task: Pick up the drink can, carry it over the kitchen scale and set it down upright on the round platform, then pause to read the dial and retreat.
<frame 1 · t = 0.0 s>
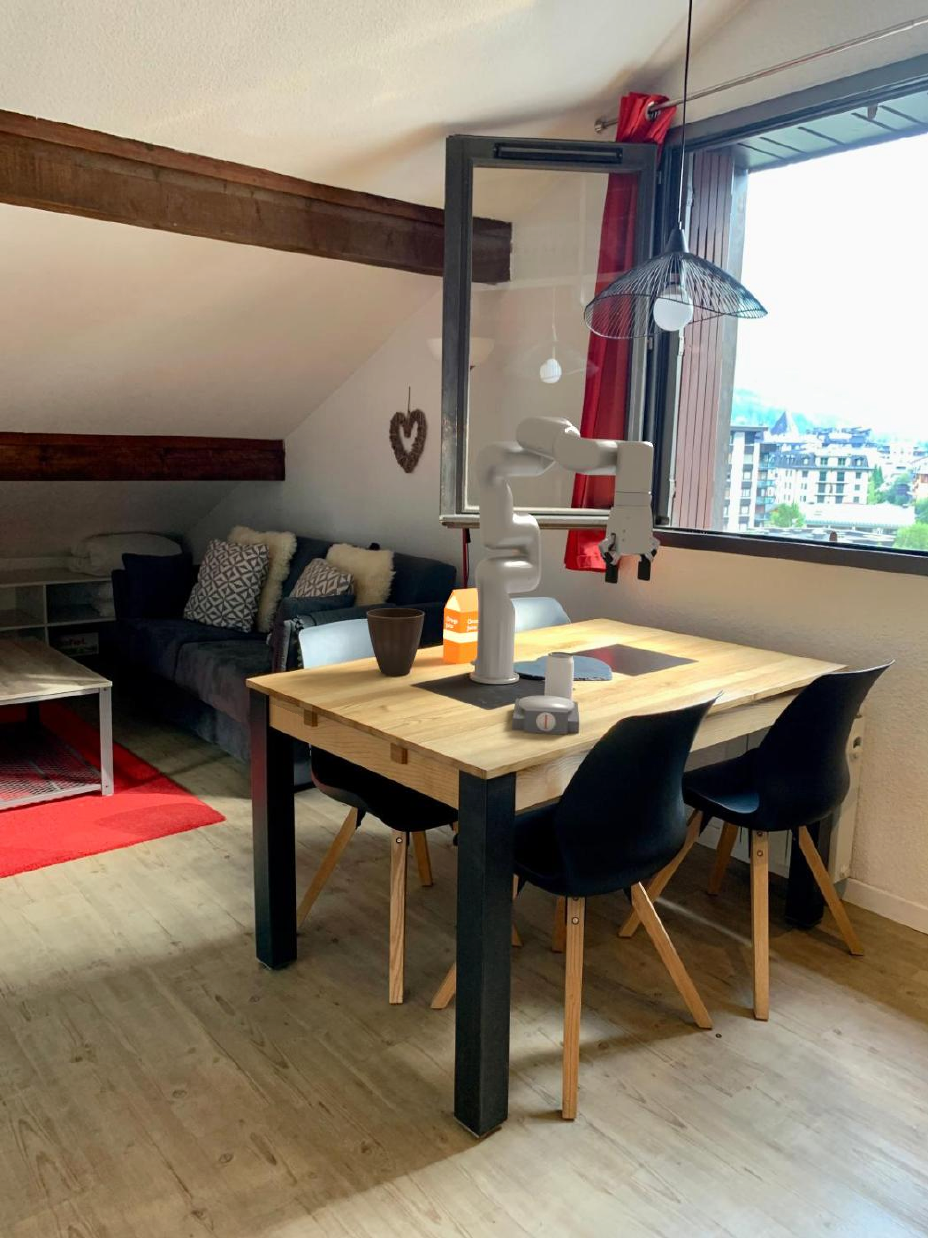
hand: (627, 581, 203), 31 cm above the table, tool pointing down, fingers open, 9 cm apart
orange juice: (463, 660, 265), on the table
can: (557, 705, 221), on the table
plant pot: (394, 673, 247), on the table
scale: (545, 720, 208), on the table
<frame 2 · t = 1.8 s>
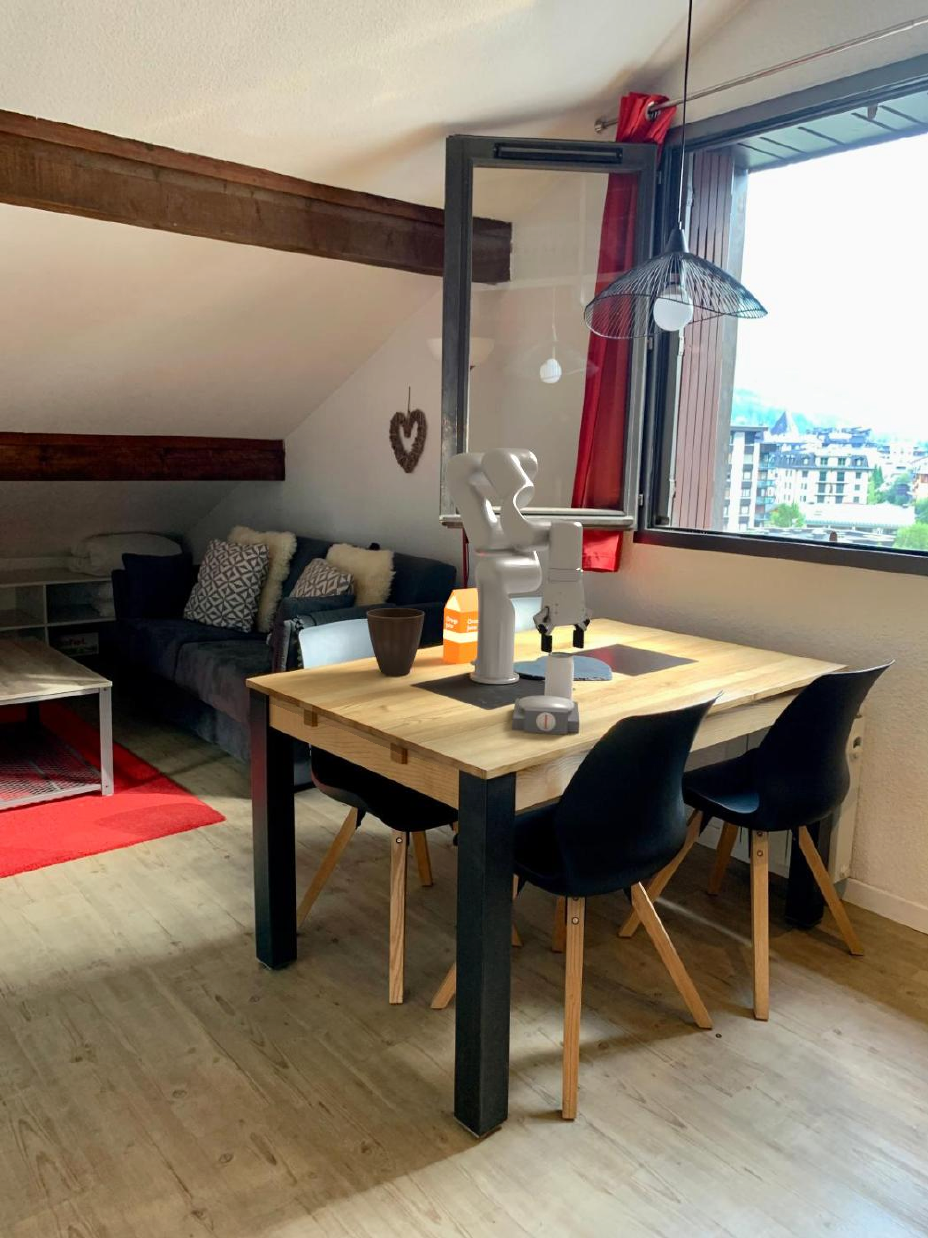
hand: (562, 649, 218), 13 cm above the table, tool pointing down, fingers open, 9 cm apart
nothing on the table moved.
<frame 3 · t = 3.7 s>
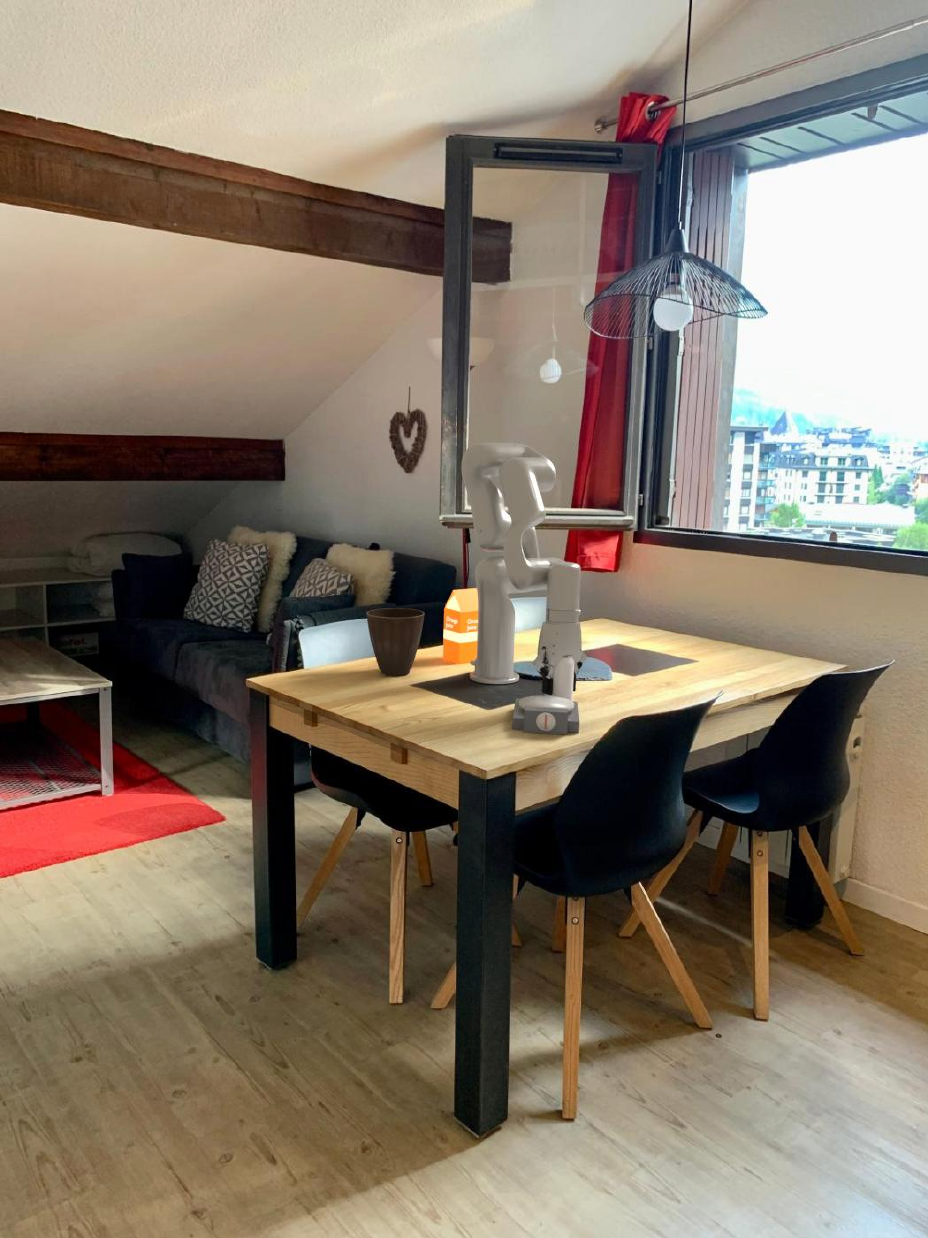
hand: (558, 691, 221), 3 cm above the table, tool pointing down, fingers closed on can, 6 cm apart
can: (558, 705, 221), on the table, touching gripper
everything else where it was.
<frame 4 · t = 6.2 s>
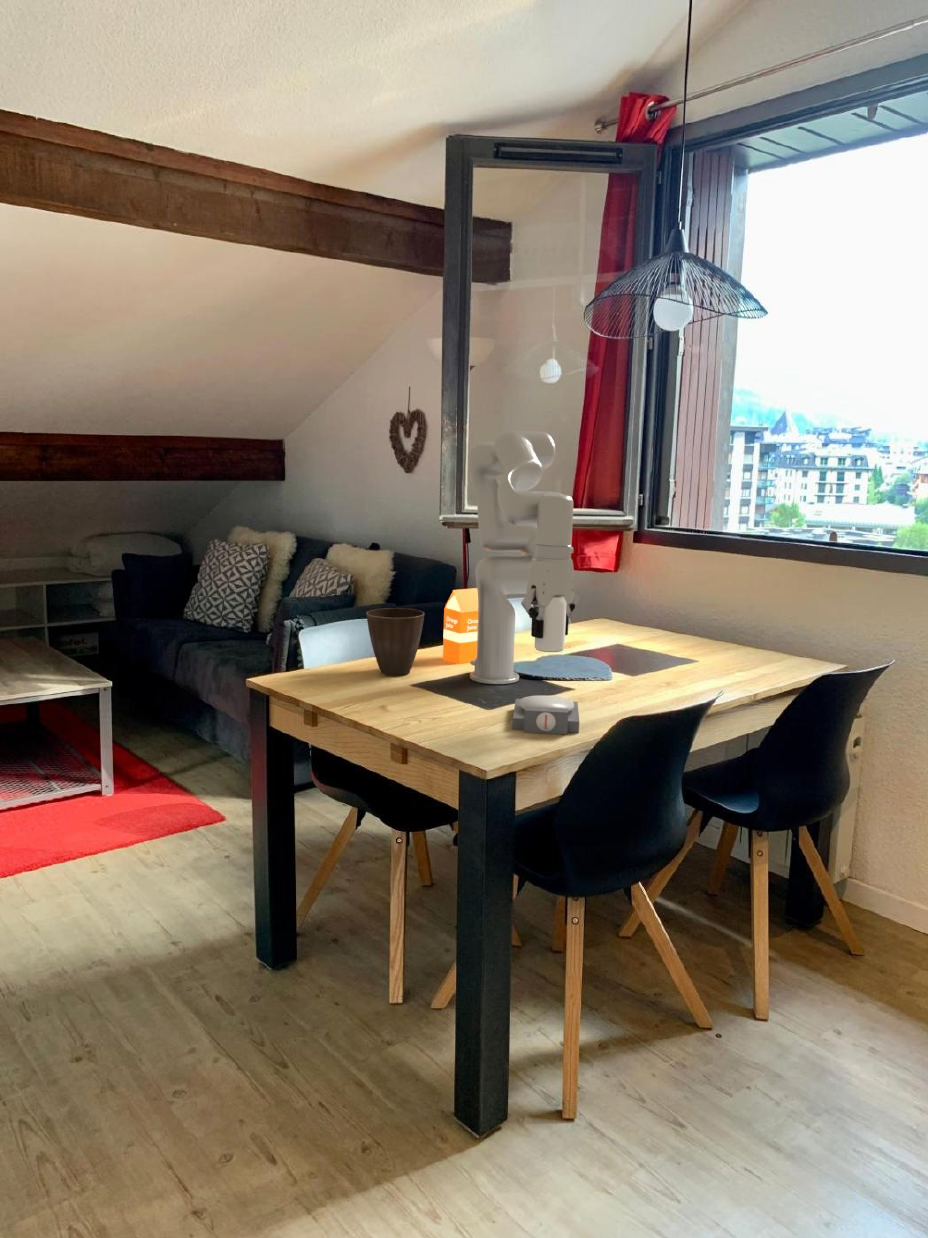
hand: (549, 635, 205), 19 cm above the table, tool pointing down, fingers closed on can, 6 cm apart
can: (549, 650, 205), point 16 cm above the table, touching gripper
everything else where it was.
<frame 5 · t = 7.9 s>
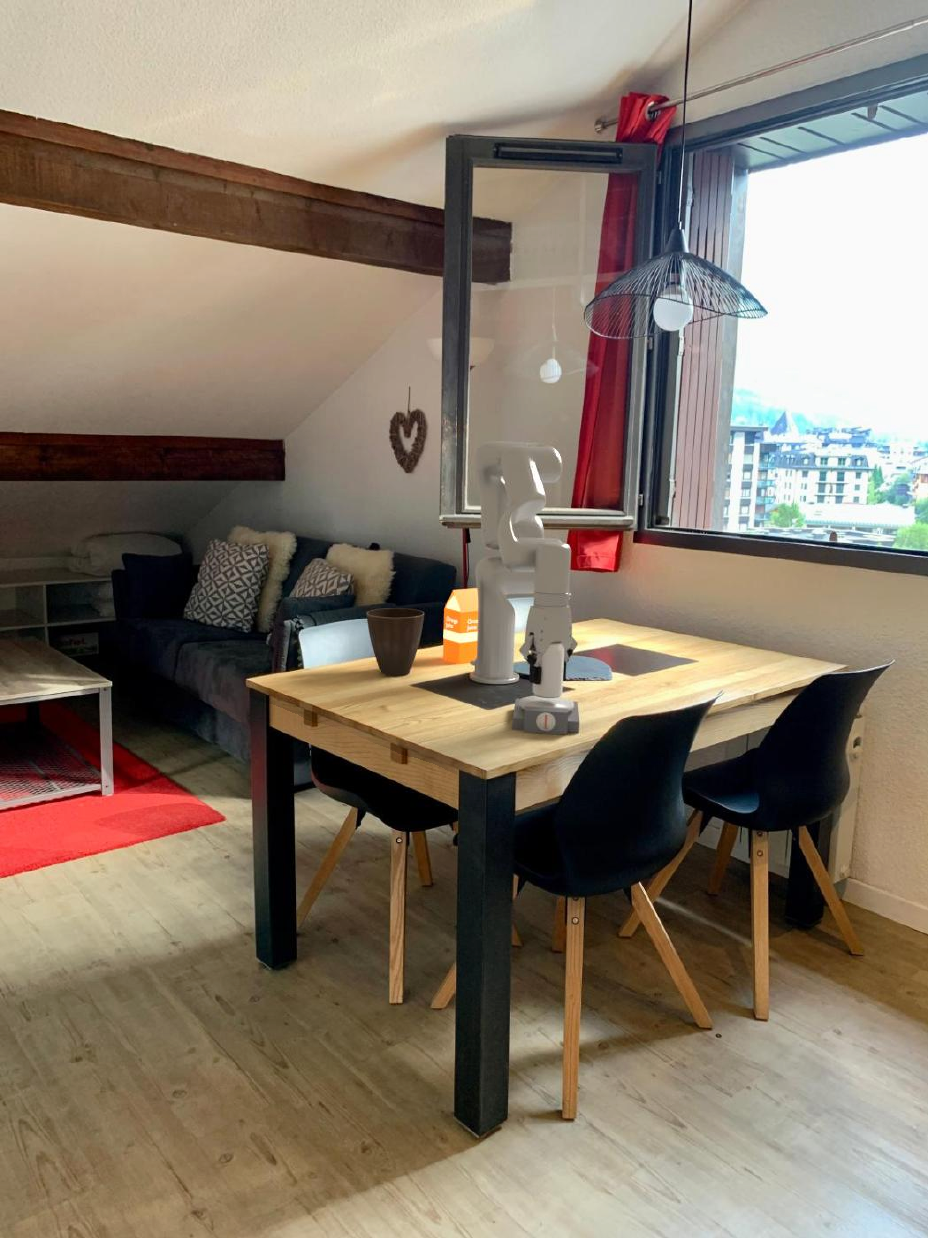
hand: (547, 680, 207), 9 cm above the table, tool pointing down, fingers closed on can, 6 cm apart
can: (547, 695, 207), point 6 cm above the table, touching gripper
everything else where it was.
when the fingers open (8 cm above the table, at t = 8.9 s): can drops 1 cm, resting on scale.
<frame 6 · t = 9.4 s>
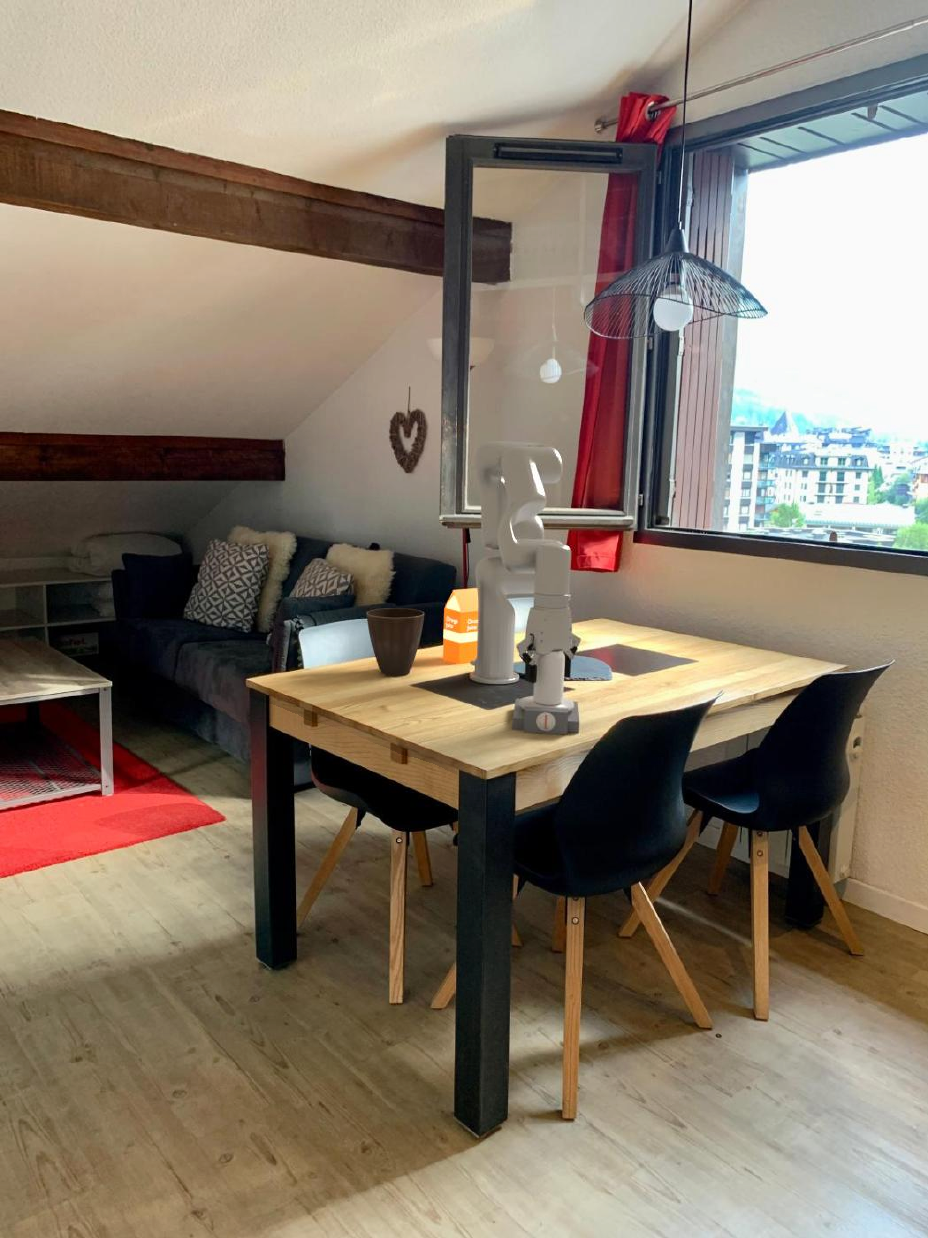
hand: (547, 679, 206), 9 cm above the table, tool pointing down, fingers open, 9 cm apart
can: (547, 703, 208), point 4 cm above the table, touching scale
everything else where it was.
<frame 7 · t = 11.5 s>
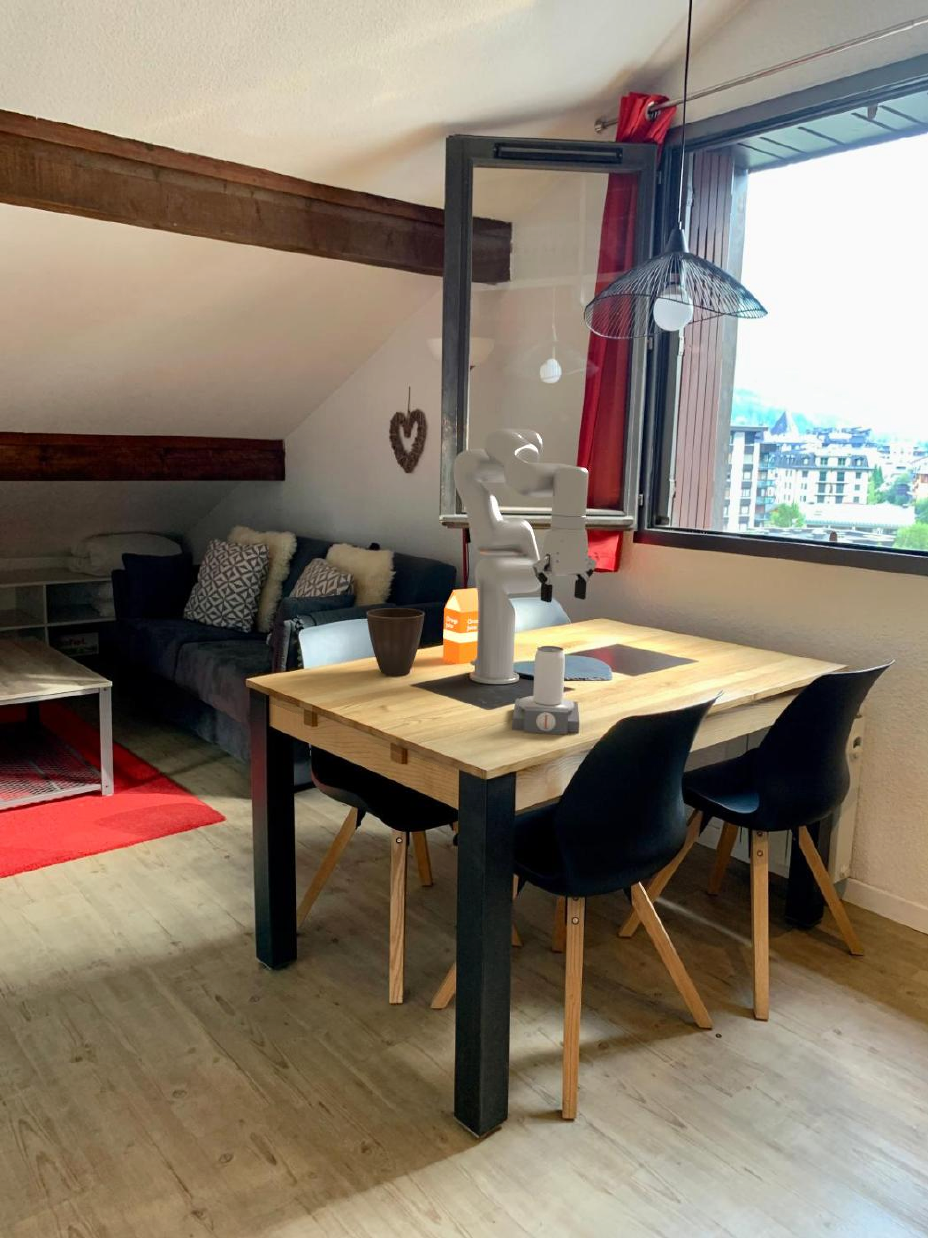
hand: (563, 599, 212), 26 cm above the table, tool pointing down, fingers open, 9 cm apart
nothing on the table moved.
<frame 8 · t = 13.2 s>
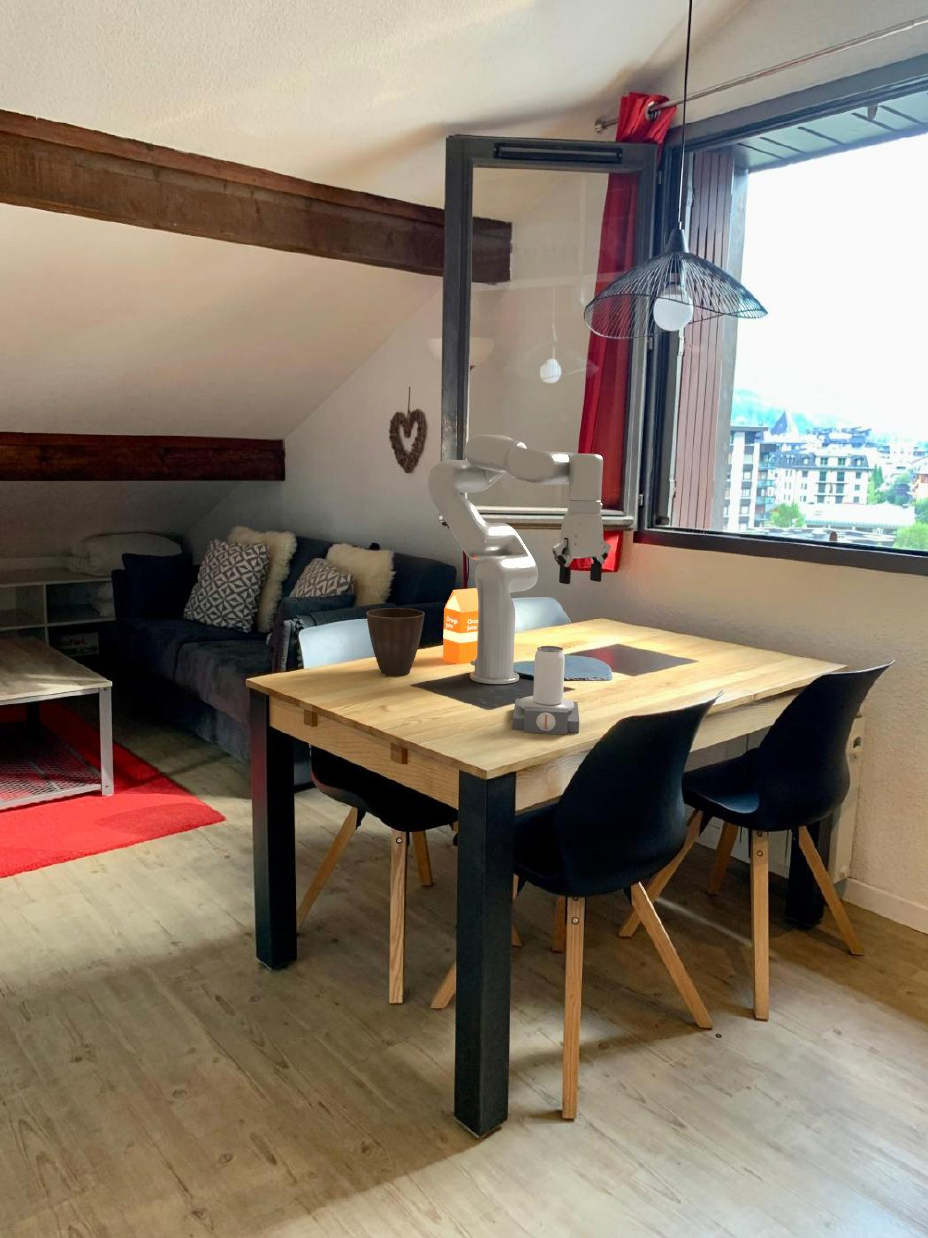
hand: (580, 582, 220), 28 cm above the table, tool pointing down, fingers open, 9 cm apart
nothing on the table moved.
at the end: can inside the target area on the scale (0.5 cm from its centre), point 3.8 cm above the scale's base; can tilted 0°; the gripper is holding nothing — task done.
